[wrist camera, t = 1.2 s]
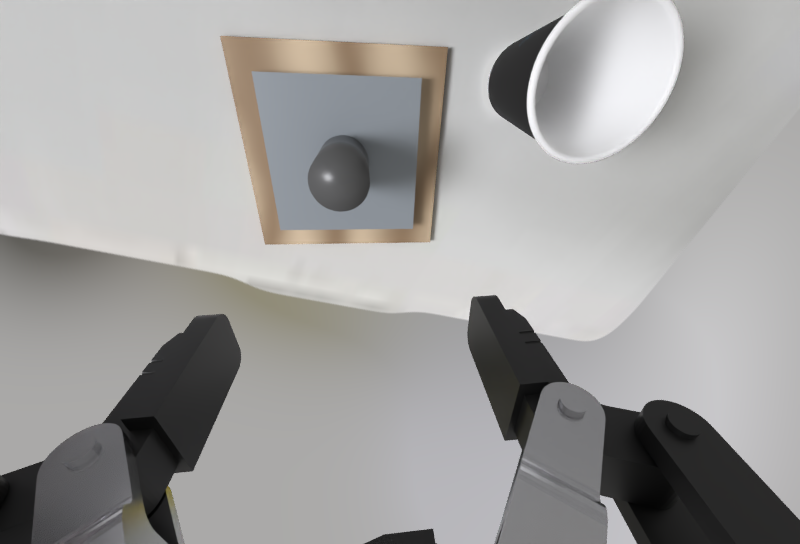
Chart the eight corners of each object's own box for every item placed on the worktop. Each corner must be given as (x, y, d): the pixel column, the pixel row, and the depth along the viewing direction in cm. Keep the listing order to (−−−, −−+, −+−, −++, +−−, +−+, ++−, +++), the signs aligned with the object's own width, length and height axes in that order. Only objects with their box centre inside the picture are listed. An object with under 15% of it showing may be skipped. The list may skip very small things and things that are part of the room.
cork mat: (266, 242, 30) (265, 244, 30) (223, 36, 22) (220, 35, 22) (429, 239, 32) (429, 242, 32) (446, 47, 24) (447, 47, 23)
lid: (283, 224, 29) (262, 263, 23) (256, 71, 23) (217, 69, 17) (411, 223, 30) (423, 260, 24) (419, 78, 24) (438, 78, 18)
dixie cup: (508, 154, 28) (579, 192, 19) (447, 87, 25) (497, 93, 16) (583, 76, 25) (709, 75, 16) (526, -11, 22) (643, -74, 13)
